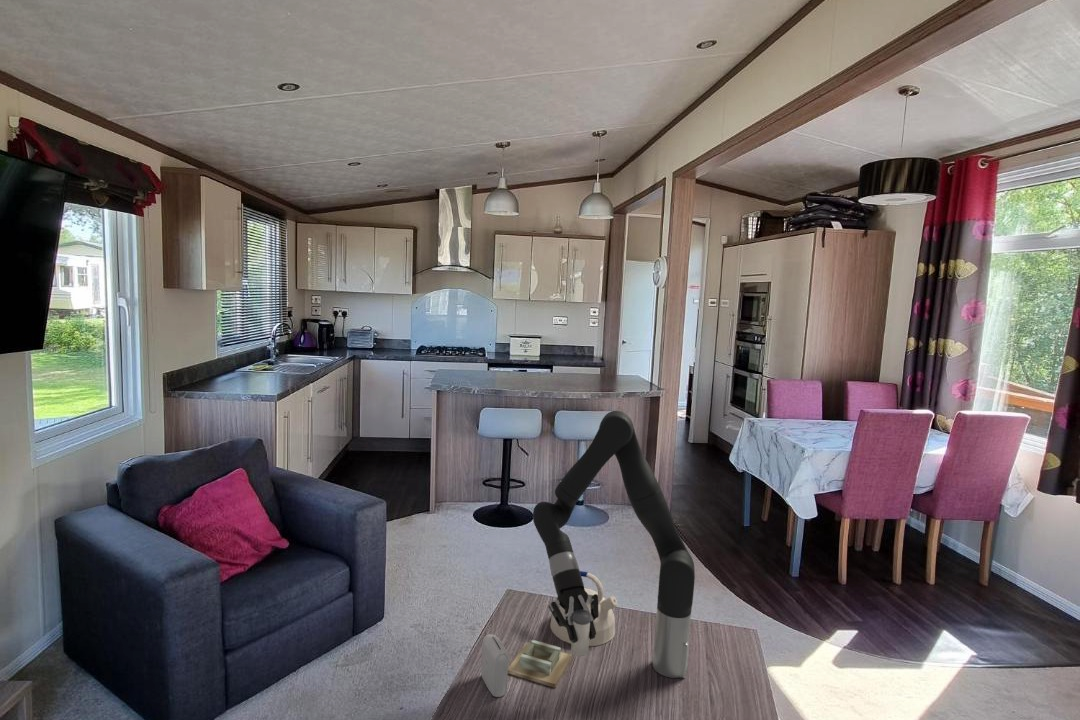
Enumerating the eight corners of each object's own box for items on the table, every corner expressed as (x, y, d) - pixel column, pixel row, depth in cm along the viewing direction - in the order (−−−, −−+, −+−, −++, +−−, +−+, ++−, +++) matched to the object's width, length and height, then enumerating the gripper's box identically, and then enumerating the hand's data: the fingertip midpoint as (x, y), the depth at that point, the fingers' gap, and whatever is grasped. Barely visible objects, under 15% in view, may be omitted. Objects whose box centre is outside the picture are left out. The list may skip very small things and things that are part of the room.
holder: (572, 658, 165) (573, 645, 165) (555, 687, 152) (556, 673, 152) (526, 645, 170) (527, 632, 170) (506, 672, 157) (507, 658, 157)
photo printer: (478, 675, 156) (480, 631, 155) (493, 671, 158) (496, 628, 156) (492, 699, 147) (495, 653, 145) (508, 695, 149) (511, 649, 147)
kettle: (603, 655, 168) (607, 595, 166) (538, 634, 177) (541, 577, 175) (624, 622, 186) (628, 567, 184) (565, 604, 195) (568, 552, 193)
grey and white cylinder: (590, 648, 150) (592, 611, 149) (585, 658, 146) (587, 620, 145) (574, 644, 152) (576, 607, 151) (568, 653, 148) (570, 616, 147)
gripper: (546, 571, 151) (563, 641, 141) (594, 564, 157) (614, 630, 147) (536, 581, 157) (553, 649, 147) (584, 574, 162) (603, 639, 152)
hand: (584, 639), depth 147 cm, fingers closed on grey and white cylinder, 4 cm apart
